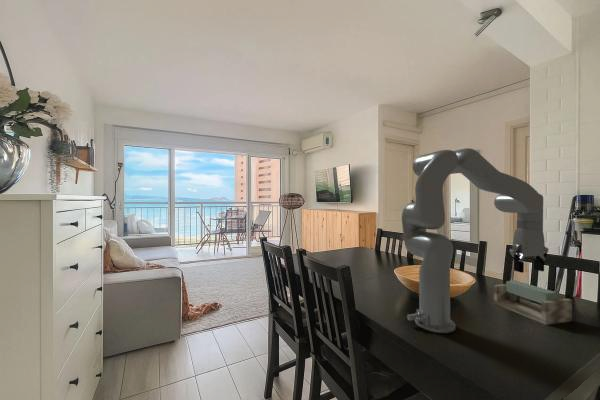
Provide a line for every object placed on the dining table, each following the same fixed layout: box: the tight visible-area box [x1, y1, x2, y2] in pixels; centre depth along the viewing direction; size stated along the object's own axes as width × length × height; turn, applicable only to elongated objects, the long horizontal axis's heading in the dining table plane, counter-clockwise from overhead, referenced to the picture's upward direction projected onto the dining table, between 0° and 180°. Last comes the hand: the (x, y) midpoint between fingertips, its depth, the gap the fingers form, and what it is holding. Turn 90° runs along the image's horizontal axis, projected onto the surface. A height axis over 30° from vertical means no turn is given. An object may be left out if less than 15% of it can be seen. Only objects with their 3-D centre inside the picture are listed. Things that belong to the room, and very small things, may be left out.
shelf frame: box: [493, 283, 573, 326], centre depth 100 cm, size 12×19×8 cm, turn 12°
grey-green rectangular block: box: [505, 280, 557, 305], centre depth 100 cm, size 14×5×4 cm, turn 13°
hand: (528, 271), depth 100 cm, fingers open, 9 cm apart
